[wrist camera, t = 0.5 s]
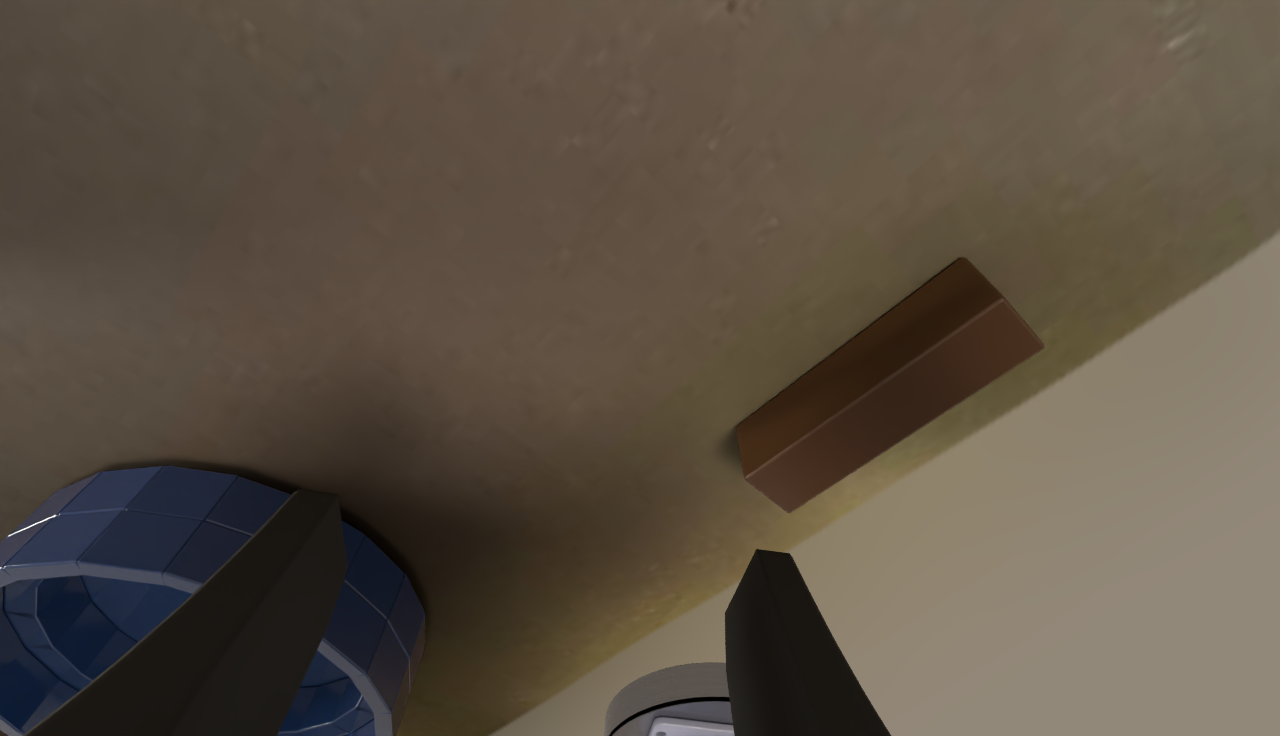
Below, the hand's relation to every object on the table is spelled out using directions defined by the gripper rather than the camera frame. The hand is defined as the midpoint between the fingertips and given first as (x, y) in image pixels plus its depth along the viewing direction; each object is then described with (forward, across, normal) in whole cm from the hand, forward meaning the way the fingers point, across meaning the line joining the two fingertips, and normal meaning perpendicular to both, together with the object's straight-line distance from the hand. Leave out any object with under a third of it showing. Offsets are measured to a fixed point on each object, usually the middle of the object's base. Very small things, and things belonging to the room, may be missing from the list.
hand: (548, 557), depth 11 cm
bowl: (+8, +11, +15) cm, 20 cm away
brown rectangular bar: (+8, -8, 0) cm, 11 cm away
